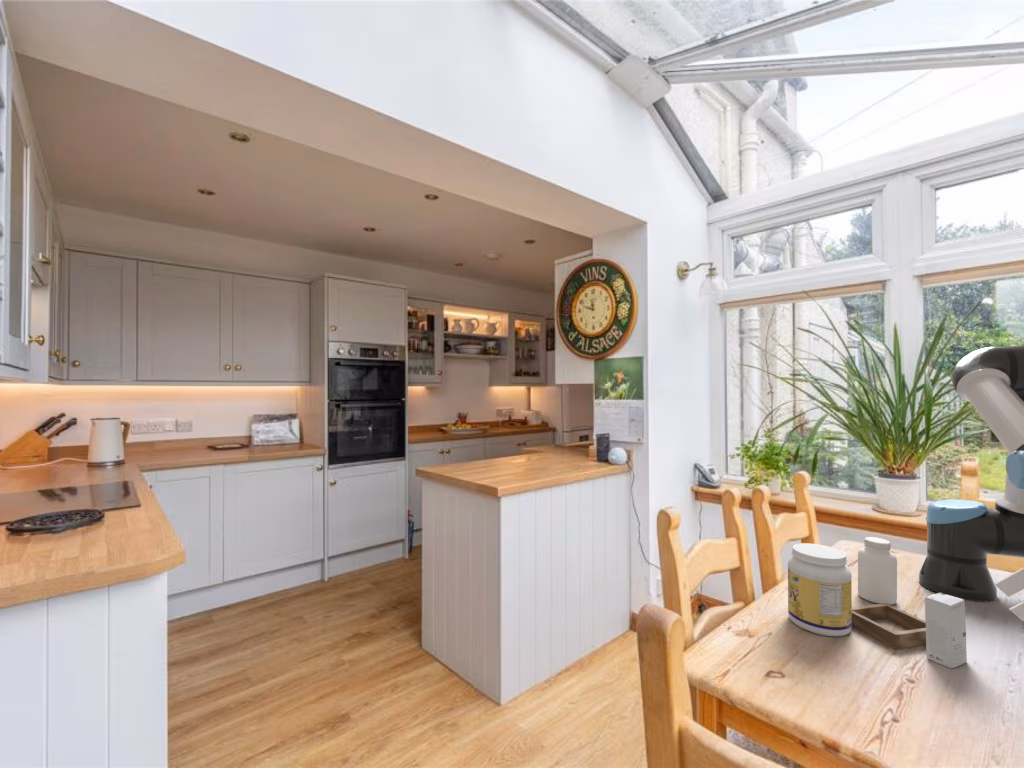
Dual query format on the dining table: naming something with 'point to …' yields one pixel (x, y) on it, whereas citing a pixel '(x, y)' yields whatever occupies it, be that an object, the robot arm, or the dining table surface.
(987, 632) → the dining table surface
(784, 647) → the dining table surface
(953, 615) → the skincare box
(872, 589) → the pill bottle
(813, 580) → the supplement tub
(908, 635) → the holder
